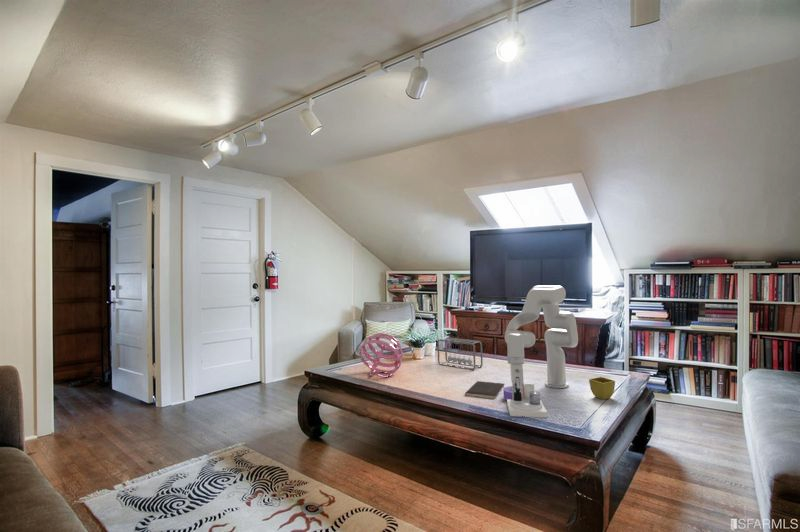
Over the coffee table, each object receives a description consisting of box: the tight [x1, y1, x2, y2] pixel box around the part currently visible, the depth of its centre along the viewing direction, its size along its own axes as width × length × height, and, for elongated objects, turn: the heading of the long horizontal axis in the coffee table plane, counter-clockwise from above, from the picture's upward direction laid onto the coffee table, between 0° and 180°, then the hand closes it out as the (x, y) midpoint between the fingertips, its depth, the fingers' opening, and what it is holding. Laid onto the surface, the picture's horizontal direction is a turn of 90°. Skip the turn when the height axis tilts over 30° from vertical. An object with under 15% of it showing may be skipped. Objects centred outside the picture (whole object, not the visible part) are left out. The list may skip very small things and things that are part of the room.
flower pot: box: [588, 376, 616, 400], centre depth 204 cm, size 9×9×9 cm
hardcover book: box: [464, 380, 505, 400], centre depth 220 cm, size 16×23×2 cm
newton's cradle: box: [437, 337, 484, 370], centre depth 278 cm, size 30×10×18 cm, turn 49°
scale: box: [506, 382, 548, 418], centre depth 190 cm, size 18×16×10 cm
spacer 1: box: [512, 387, 522, 401], centre depth 189 cm, size 5×5×5 cm
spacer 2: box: [530, 390, 541, 405], centre depth 188 cm, size 5×5×5 cm
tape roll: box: [502, 385, 512, 401], centre depth 206 cm, size 12×12×5 cm
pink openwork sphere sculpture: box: [358, 332, 404, 378], centre depth 258 cm, size 28×28×27 cm
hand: (517, 398), depth 189 cm, fingers closed on spacer 1, 4 cm apart
